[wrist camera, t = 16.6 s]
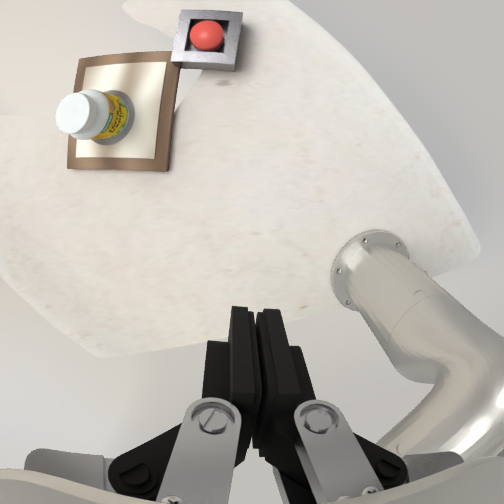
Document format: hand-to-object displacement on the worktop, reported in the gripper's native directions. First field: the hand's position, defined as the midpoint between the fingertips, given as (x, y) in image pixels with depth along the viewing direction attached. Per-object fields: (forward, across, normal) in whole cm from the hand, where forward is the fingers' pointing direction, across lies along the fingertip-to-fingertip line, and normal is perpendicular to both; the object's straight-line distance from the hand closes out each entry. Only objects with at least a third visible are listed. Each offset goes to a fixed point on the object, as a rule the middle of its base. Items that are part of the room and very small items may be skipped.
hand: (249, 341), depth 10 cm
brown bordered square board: (+27, +16, -10) cm, 33 cm away
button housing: (+27, +6, -19) cm, 34 cm away
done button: (+26, +6, -19) cm, 32 cm away
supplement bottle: (+26, +17, -9) cm, 32 cm away
